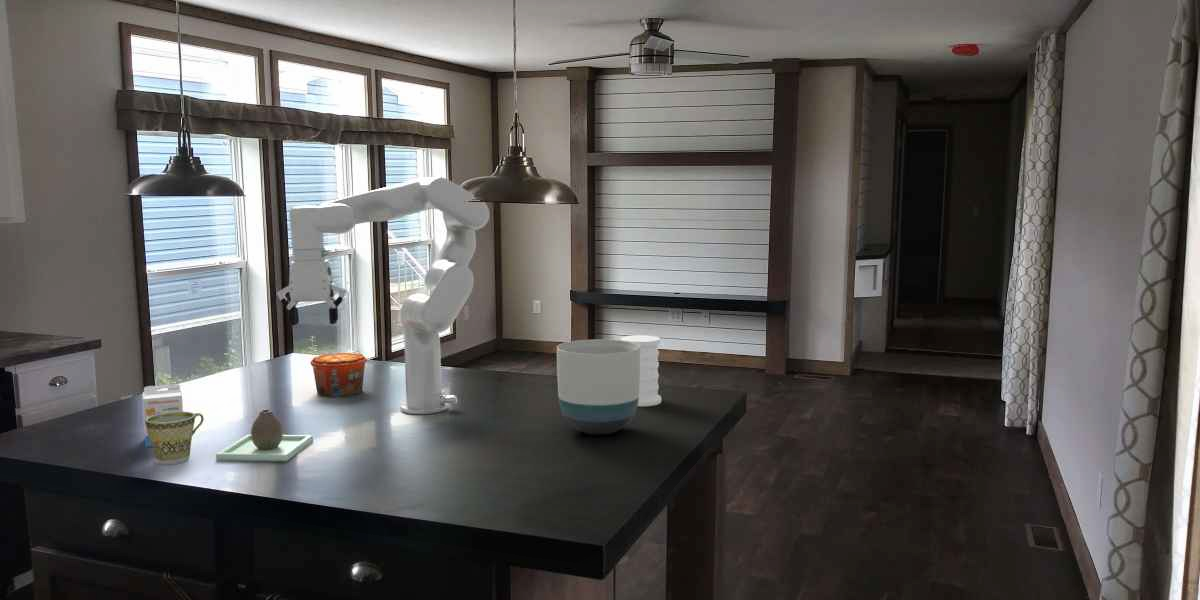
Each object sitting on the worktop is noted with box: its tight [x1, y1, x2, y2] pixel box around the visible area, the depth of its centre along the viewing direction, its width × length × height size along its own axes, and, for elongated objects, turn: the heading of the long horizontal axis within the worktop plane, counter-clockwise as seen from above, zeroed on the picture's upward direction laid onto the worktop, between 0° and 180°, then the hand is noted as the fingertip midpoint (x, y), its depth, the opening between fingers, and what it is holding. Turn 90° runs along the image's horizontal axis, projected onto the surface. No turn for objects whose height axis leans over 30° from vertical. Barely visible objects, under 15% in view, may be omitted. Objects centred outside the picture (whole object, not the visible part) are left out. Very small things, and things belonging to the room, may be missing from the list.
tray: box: [215, 433, 314, 462], centre depth 210 cm, size 16×16×2 cm
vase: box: [250, 409, 284, 450], centre depth 210 cm, size 7×7×9 cm
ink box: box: [142, 383, 184, 448], centre depth 218 cm, size 9×8×13 cm
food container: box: [310, 352, 368, 398], centre depth 268 cm, size 16×16×11 cm
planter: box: [556, 338, 640, 436], centre depth 223 cm, size 20×20×21 cm
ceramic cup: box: [145, 411, 205, 466], centre depth 204 cm, size 13×10×10 cm
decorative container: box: [620, 334, 662, 407], centre depth 255 cm, size 12×12×18 cm
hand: (314, 323), depth 228 cm, fingers open, 9 cm apart
